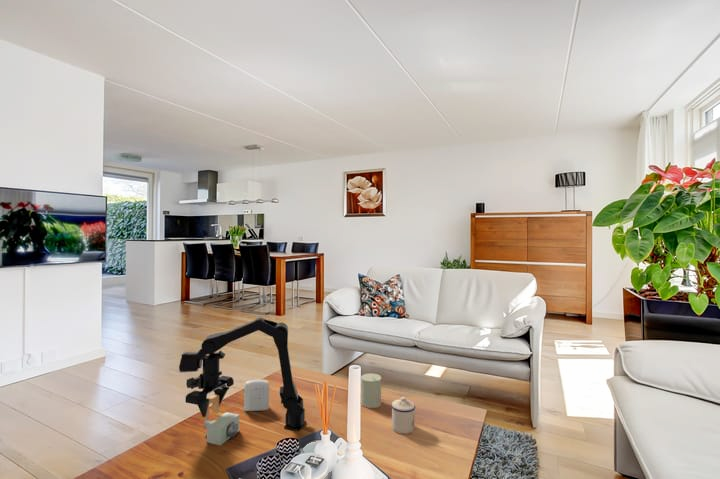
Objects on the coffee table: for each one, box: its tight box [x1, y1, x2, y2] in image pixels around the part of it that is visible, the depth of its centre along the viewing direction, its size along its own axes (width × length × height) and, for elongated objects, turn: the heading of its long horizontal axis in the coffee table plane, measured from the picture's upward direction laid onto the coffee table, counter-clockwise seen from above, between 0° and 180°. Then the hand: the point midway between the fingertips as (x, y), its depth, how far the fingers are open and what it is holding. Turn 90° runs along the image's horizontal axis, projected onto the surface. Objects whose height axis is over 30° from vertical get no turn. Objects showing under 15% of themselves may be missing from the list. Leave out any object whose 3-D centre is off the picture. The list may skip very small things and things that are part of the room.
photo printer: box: [243, 379, 270, 412], centre depth 148 cm, size 10×4×12 cm, turn 98°
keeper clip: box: [201, 393, 220, 421], centre depth 129 cm, size 2×6×6 cm, turn 161°
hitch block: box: [206, 411, 240, 446], centre depth 127 cm, size 6×10×6 cm, turn 161°
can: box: [360, 372, 382, 409], centre depth 154 cm, size 9×9×12 cm
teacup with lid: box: [391, 396, 416, 435], centre depth 135 cm, size 12×9×12 cm
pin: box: [203, 420, 238, 438], centre depth 127 cm, size 12×4×4 cm, turn 71°
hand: (210, 412), depth 129 cm, fingers closed on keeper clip, 6 cm apart
